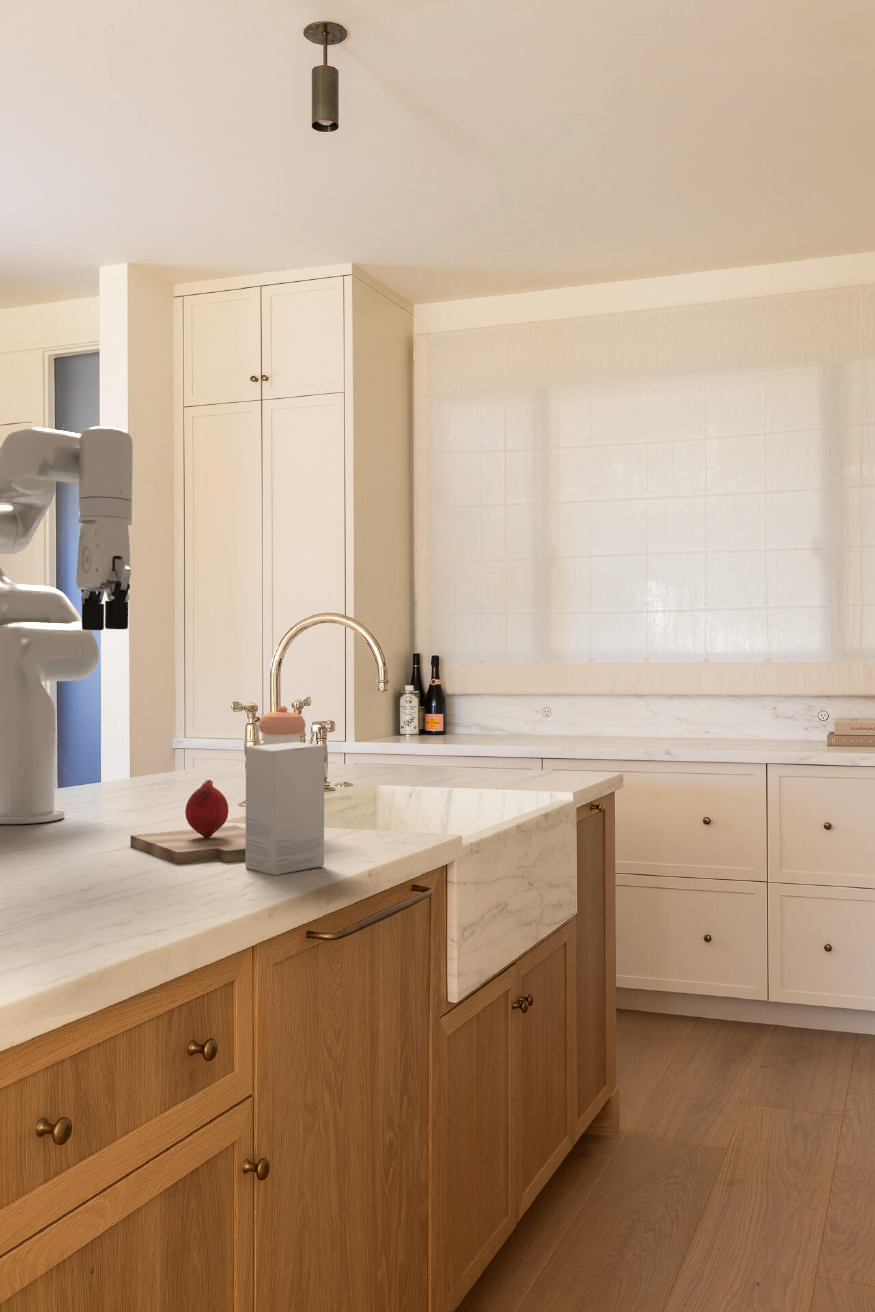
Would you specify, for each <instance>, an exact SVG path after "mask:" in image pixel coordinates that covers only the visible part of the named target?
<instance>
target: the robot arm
mask: <svg viewBox="0 0 875 1312" xmlns="http://www.w3.org/2000/svg"><path fill="white" fill-rule="evenodd" d="M133 445H134V444H133V438H132V435H131V434H130V433H129V432H128V431H126V430H123V429H121V428H118V427H117V428H116V427H110V426H109V427H108V426H93V427H88V428H85V429H84V430H82V432H81V433H75V432H70V431H65V430H57V429H53V428H45V427H30V428H24V429H20V430H16V431H13V432H10V433H9V434H7V436H6V437H5V439H4V441H2V444H1V446H0V503H4V504H9V505H2V504H0V554H4V555H5V554H6V555H12V554H17V553H20V552H23V550H25V549H26V547H27V546H28V545H29V544H30V543H31V541H32V539H33V537H34V535H35V533H36V532H37V530H38V527H39V526H40V524H41V523H42V522H41V521H42V520H43V519H44V518H45V517H44V516H45V515H46V513H47V511H48V509H49V507H50V505H51V503H52V501H53V499H54V496H55V493H56V489H57V482H58V483H60V482H61V483H68V484H72V485H78V523H79V524H80V523H81V526H80V532H79V537H78V545H77V546H78V547H77V548H78V549H77V565H76V587H77V588H78V589H79V590H80V592H81V614H80V613H79V611H78V610H77V609H76V607H75V606H74V604H73V603H72V602H71V600H70V599H69V597H68V596H67V595H66V594H64V593H63V592H62V590H61V591H60V590H59V589H57V588H55V587H53V586H52V587H51V586H47V585H36V584H35V585H34V584H23V583H17V582H13V581H11V580H10V579H9V578H8V577H7V575H6V574H5V572H4V571H3V569H2V568H1V567H0V825H23V824H24V825H25V824H26V825H27V824H39V823H40V824H41V823H47V822H55V821H58V820H61V819H62V820H63V819H64V818H65V813H66V812H65V810H64V809H63V808H59V807H55V801H56V797H55V796H56V795H55V793H56V792H55V790H56V789H55V788H56V787H55V786H56V785H55V783H56V782H55V779H56V778H55V777H56V775H55V774H56V771H55V770H56V766H55V765H56V708H55V704H54V702H53V700H52V698H51V696H50V694H49V692H48V691H47V690H46V688H45V686H44V685H43V683H44V682H73V681H74V682H75V681H80V680H81V681H82V680H84V679H86V678H89V676H91V675H92V674H93V673H94V672H95V670H96V668H97V667H98V664H99V659H100V658H99V653H100V652H99V646H98V643H97V640H96V637H95V635H94V633H93V632H92V631H103V630H104V629H106V630H127V629H129V602H130V601H129V600H130V593H129V590H130V588H131V584H130V580H131V574H132V570H131V548H130V547H131V546H130V533H129V532H130V529H129V526H130V525H133V450H134V449H133V448H134V447H133ZM105 593H106V597H107V600H105V602H104V603H102V602H103V599H104V596H105Z"/></svg>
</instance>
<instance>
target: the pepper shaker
mask: <svg viewBox="0 0 875 1312" xmlns="http://www.w3.org/2000/svg"><path fill="white" fill-rule="evenodd" d="M288 710H289V709H288V708H287V706H284V705H283V706H282V705H281V706H277V708H276V711H273V712H271V711H270V712H267V713H265V714H263V715H261V717H260V718H259V720H258V725H257V726H258V730H259V732H260V733H262V734H263V744H262V745H270V744H280V743H291V742H301V733H304V732H305V729H306V726H307V725H306V721H305V719H304V718H303V716H302V715H301V714H298V713H297V712H293V711H288Z"/></svg>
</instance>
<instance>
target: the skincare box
mask: <svg viewBox="0 0 875 1312" xmlns="http://www.w3.org/2000/svg"><path fill="white" fill-rule="evenodd" d="M325 753H326V745H325V744H319V743H318V744H317V743H309V742H301V741H300V742H291V743H280V744H270V745H263V744H261V745H258V744H257V745H247V746H245V828H246V860H244V861H245V865H244V867H245V869H247V870H251V871H254V872H259V873H262V874H268V875H270V876H278V875H284V874H289V873H293V872H299V871H305V870H309V869H314V868H322V867H325Z"/></svg>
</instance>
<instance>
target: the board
mask: <svg viewBox="0 0 875 1312" xmlns="http://www.w3.org/2000/svg"><path fill="white" fill-rule="evenodd" d="M129 840H130V845H129V846H130V847H132V848H135V849H138V850H140V851H142V852H145V853H147V854H151V855H153V856H155V857H158V858H161V859H163V860H166V861H168V862H172V863H173V864H177V865H182V864H190V863H197V862H198V863H199V862H207V861H208V862H209V861H220V862H223V863H234V862H241V861H246V827H242V826H238V825H227V826H222V827H221V828H219V829H218V830H217V831H216V832H215V833H214V834H213V835H212V836H211V837H207V838H205V837H203V836H202V835H201V834H199V833H198V832H196V831H195V830H194V829H193V828H192V829H184V830H182V829H181V830H175V831H174V830H173V831H165V832H163V831H162V832H161V831H160V832H152V833H139V834H130V839H129Z"/></svg>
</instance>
